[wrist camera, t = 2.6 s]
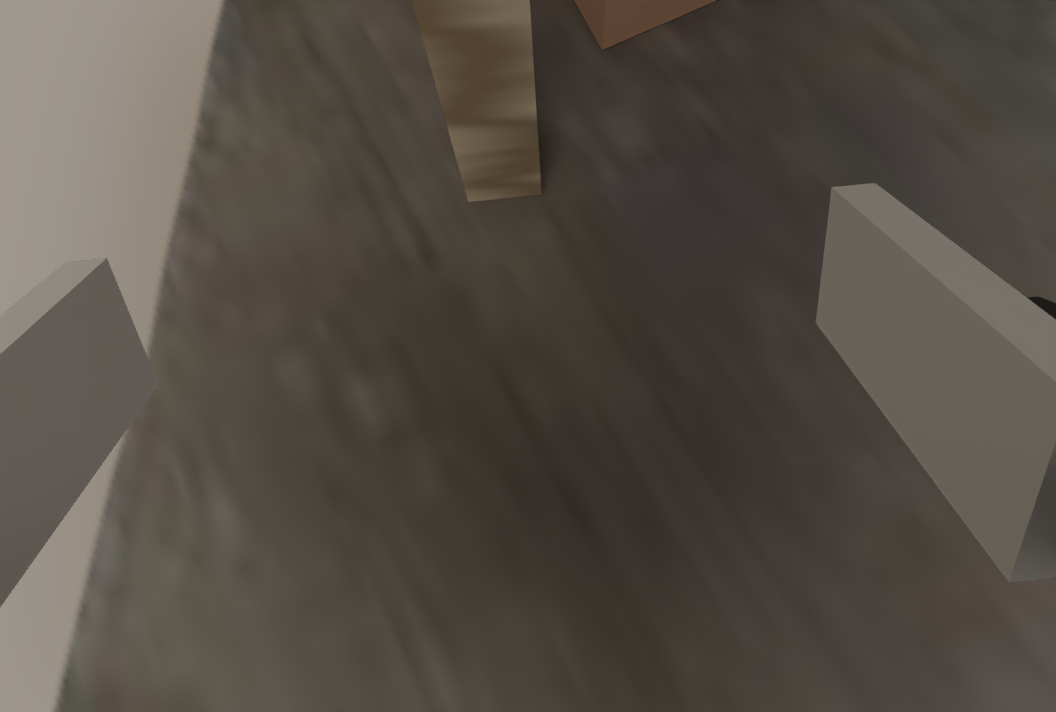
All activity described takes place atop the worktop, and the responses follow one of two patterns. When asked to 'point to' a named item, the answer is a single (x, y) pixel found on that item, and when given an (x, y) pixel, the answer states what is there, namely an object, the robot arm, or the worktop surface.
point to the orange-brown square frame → (631, 16)
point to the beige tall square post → (486, 91)
